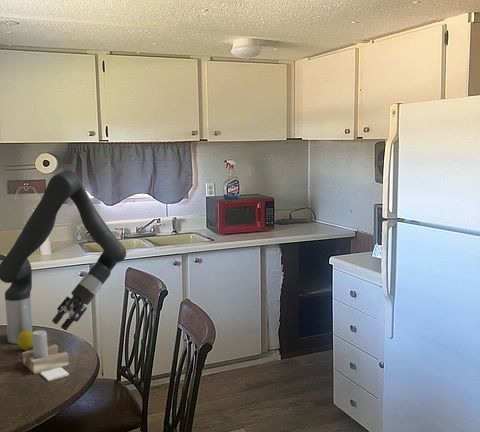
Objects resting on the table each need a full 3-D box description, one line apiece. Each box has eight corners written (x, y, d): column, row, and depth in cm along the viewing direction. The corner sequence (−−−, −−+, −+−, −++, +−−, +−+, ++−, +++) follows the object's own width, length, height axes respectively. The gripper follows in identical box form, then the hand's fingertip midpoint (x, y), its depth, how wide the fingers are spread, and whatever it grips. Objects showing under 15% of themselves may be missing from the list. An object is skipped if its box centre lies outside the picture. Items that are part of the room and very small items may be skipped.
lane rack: (22, 363, 193) (22, 352, 192) (56, 354, 200) (55, 344, 200) (34, 373, 184) (33, 362, 183) (68, 364, 191) (68, 353, 191)
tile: (40, 374, 183) (40, 372, 183) (60, 368, 188) (60, 367, 188) (48, 381, 178) (48, 379, 178) (68, 375, 183) (68, 373, 182)
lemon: (15, 352, 203) (13, 331, 202) (26, 346, 208) (24, 326, 207) (26, 354, 201) (25, 333, 200) (37, 348, 206) (36, 328, 205)
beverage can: (43, 368, 188) (41, 335, 187) (31, 367, 189) (29, 334, 188) (51, 362, 193) (49, 330, 191) (38, 361, 194) (36, 329, 192)
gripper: (72, 279, 203) (43, 315, 197) (88, 286, 192) (58, 325, 186) (86, 290, 207) (58, 326, 201) (103, 298, 196) (74, 336, 190)
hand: (58, 325), depth 194 cm, fingers open, 8 cm apart
